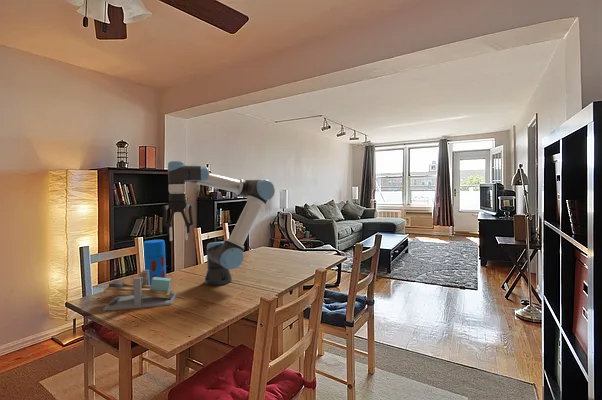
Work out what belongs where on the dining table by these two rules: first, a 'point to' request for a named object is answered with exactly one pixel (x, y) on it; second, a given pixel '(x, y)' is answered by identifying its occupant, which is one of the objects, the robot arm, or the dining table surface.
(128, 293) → the beam
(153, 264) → the thermos
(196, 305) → the dining table surface
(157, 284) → the block
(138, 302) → the stand
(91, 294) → the dining table surface
